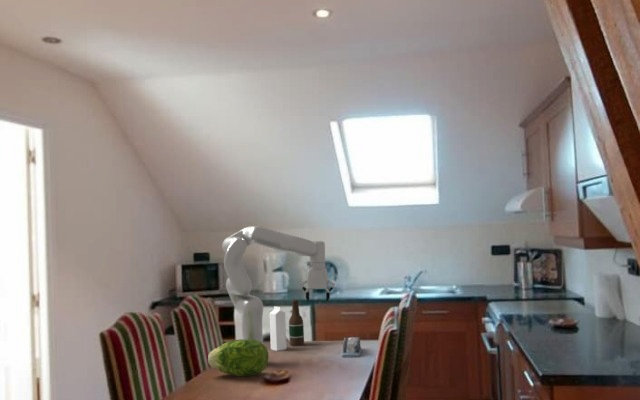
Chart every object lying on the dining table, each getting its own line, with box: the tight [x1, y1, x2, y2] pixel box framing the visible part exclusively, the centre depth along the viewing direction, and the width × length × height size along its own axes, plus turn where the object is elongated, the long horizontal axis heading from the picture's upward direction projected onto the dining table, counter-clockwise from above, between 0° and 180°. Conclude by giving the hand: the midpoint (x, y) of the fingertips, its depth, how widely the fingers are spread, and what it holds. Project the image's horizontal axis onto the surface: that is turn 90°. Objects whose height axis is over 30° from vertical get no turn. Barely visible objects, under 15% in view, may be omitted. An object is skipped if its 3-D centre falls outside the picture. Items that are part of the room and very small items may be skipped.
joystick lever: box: [347, 336, 357, 354], centre depth 290 cm, size 17×5×4 cm, turn 173°
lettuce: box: [207, 338, 269, 377], centre depth 252 cm, size 15×27×16 cm, turn 81°
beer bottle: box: [288, 299, 305, 347], centre depth 315 cm, size 8×8×24 cm
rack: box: [342, 336, 362, 358], centre depth 288 cm, size 18×8×7 cm, turn 173°
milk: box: [269, 306, 288, 352], centre depth 305 cm, size 6×6×22 cm
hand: (317, 300), depth 291 cm, fingers open, 9 cm apart
